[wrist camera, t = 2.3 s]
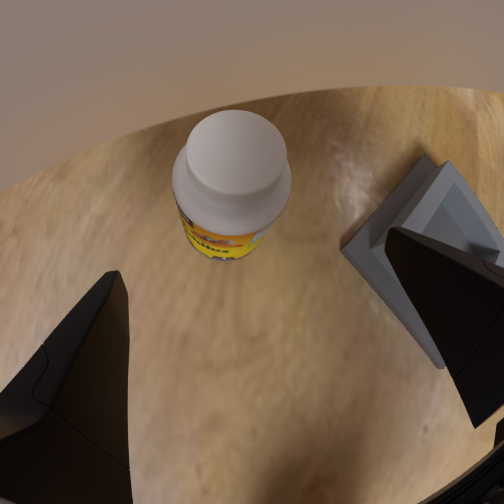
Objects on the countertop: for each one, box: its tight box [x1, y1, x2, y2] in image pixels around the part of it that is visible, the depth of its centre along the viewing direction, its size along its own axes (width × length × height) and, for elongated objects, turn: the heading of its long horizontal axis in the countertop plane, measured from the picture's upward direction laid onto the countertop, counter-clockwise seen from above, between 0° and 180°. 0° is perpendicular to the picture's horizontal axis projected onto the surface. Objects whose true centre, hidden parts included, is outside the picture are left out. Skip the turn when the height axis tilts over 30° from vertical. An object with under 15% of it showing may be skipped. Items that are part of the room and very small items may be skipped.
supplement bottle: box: [172, 110, 292, 261], centre depth 16 cm, size 6×6×10 cm
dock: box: [340, 154, 504, 369], centre depth 21 cm, size 14×14×4 cm
